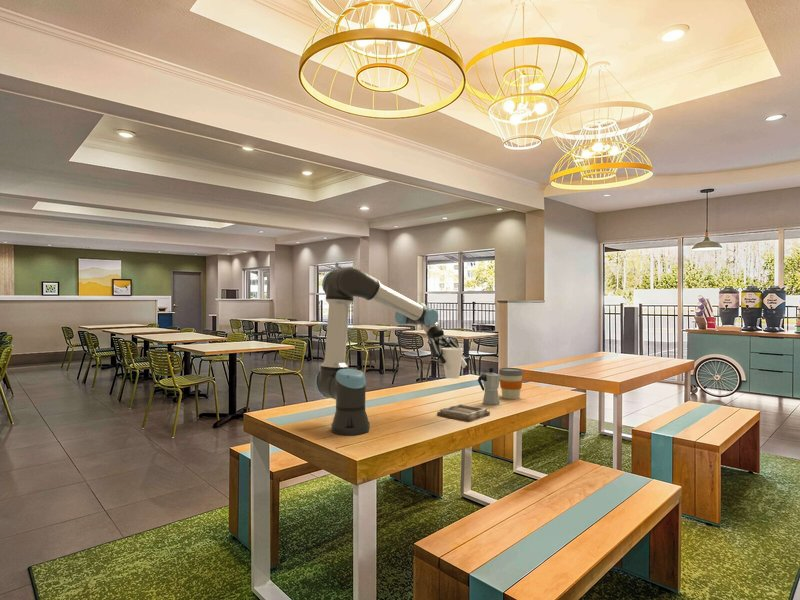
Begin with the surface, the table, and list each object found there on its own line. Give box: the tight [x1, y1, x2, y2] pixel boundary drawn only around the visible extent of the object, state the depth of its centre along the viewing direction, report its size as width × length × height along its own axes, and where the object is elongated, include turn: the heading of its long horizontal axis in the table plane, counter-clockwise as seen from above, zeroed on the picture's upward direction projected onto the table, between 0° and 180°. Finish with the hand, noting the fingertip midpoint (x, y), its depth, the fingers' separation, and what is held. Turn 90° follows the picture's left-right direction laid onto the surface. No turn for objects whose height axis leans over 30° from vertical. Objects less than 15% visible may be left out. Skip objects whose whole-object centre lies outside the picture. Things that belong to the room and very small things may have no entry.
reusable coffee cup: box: [498, 367, 524, 400], centre depth 246 cm, size 13×13×15 cm
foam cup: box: [442, 347, 464, 380], centre depth 207 cm, size 10×9×13 cm
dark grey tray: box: [436, 403, 491, 423], centre depth 206 cm, size 17×17×3 cm
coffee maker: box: [477, 367, 500, 406], centre depth 230 cm, size 15×9×18 cm, turn 121°
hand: (457, 367), depth 204 cm, fingers closed on foam cup, 9 cm apart
